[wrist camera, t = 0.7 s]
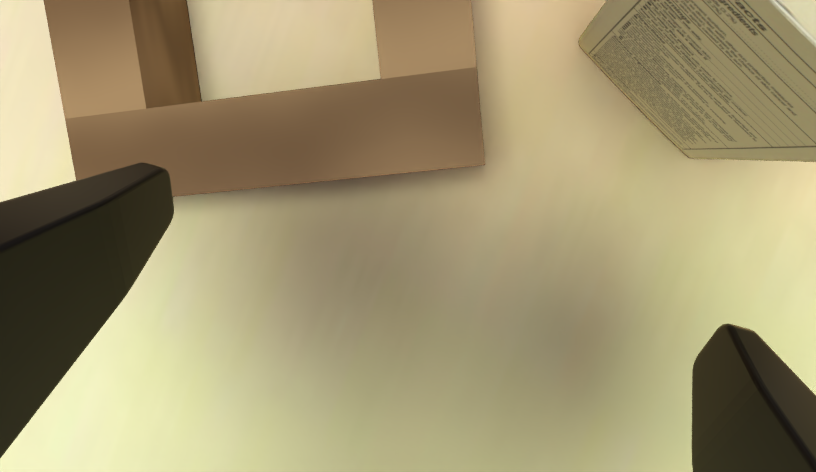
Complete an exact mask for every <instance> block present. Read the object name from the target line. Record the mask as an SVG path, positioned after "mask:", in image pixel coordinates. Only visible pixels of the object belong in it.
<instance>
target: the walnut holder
mask: <svg viewBox="0 0 816 472" xmlns="http://www.w3.org/2000/svg"><path fill="white" fill-rule="evenodd" d="M44 5H45V10H46V16H47V21H48V27H49V32H50V38H51V43H52V49H53V54H54V60H55V65H56V71H57V76H58V82H59V87H60V93H61V99H62V104H63V110H64V115H65V121H66V126H67V132H68V137H69V143H70V148H71V154H72V159H73V165H74V170H75V176H76V181H77V180H80V179H84V178H88V177H91V176H95V175H98V174H102V173H105V172H109V171H112V170H116V169H119V168H123V167H126V166H130V165H133V164H137V163H141V162H144V163H149V164H152V165H156V166H160V167H163V168H165V169H166V170H167V171H168V173H169V175H170V180H171V188H172V196H173V197H174V196H184V195H194V194H204V193H214V192H223V191H233V190H243V189H253V188H263V187H272V186H282V185H292V184H302V183H312V182H321V181H331V180H341V179H351V178H361V177H370V176H380V175H390V174H400V173H410V172H420V171H429V170H439V169H449V168H459V167H469V166H478V165H485V159H484V147H483V135H482V124H481V112H480V100H479V88H478V77H477V65H476V53H475V42H474V30H473V18H472V7H471V0H373V10H374V19H375V28H376V37H377V47H378V56H379V65H380V75H381V79H377V80H369V81H361V82H353V83H345V84H337V85H329V86H322V87H314V88H306V89H298V90H290V91H282V92H274V93H266V94H258V95H250V96H242V97H234V98H226V99H218V100H210V101H202V102H201V96H200V89H199V83H198V76H197V69H196V63H195V56H194V49H193V42H192V36H191V29H190V22H189V16H188V9H187V2H186V0H44Z"/></svg>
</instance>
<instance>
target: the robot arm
mask: <svg viewBox="0 0 816 472" xmlns="http://www.w3.org/2000/svg"><path fill="white" fill-rule="evenodd" d="M173 214H174V204H173V196H172V188H171V180H170V175H169V173H168V171H167V170H166V169H165V168H163V167H160V166H156V165H152V164H149V163H144V162H141V163H137V164H133V165H130V166H126V167H123V168H119V169H116V170H112V171H109V172H105V173H102V174H98V175H95V176H91V177H88V178H84V179H80V180H77V181H73V182H70V183H66V184H63V185H59V186H56V187H52V188H49V189H45V190H42V191H38V192H35V193H31V194H28V195H24V196H21V197H17V198H14V199H10V200H7V201H3V202H0V458H1V457H2V455H3V454H4V453H5V452H6V450H7V449H8V448H9V446H10V445H11V444H12V443H13V441H14V440H15V439H16V437H17V436H18V435H19V433H20V432H21V431H22V430H23V428H24V427H25V426H26V424H27V423H28V422H29V421H30V419H31V418H32V417H33V415H34V414H35V413H36V411H37V410H38V409H39V408H40V406H41V405H42V404H43V402H44V401H45V400H46V399H47V397H48V396H49V395H50V393H51V392H52V391H53V390H54V388H55V387H56V386H57V384H58V383H59V382H60V380H61V379H62V378H63V377H64V375H65V374H66V373H67V371H68V370H69V369H70V368H71V366H72V365H73V364H74V362H75V361H76V360H77V358H78V357H79V356H80V355H81V353H82V352H83V351H84V349H85V348H86V347H87V346H88V344H89V343H90V342H91V340H92V339H93V338H94V336H95V335H96V334H97V333H98V331H99V330H100V329H101V327H102V326H103V325H104V324H105V322H106V321H107V320H108V318H109V317H110V316H111V314H112V313H113V312H114V311H115V309H116V308H117V307H118V305H119V304H120V303H121V301H122V300H123V299H124V297H125V296H126V295H127V293H128V292H129V290H130V289H131V287H132V286H133V284H134V282H135V281H136V279H137V278H138V276H139V274H140V273H141V271H142V269H143V268H144V266H145V264H146V263H147V261H148V259H149V258H150V256H151V254H152V253H153V251H154V249H155V248H156V246H157V244H158V243H159V241H160V240H161V238H162V236H163V235H164V233H165V231H166V230H167V228H168V226H169V225H170V223H171V221H172V218H173ZM692 466H693V472H816V395H815V394H814V393H813V392H812V391H811V390H810V389H809V388H808V387H807V386H806V385H805V384H804V383H803V382H802V381H801V380H800V379H799V378H798V376H797V375H796V374H795V373H794V372H793V371H792V370H791V369H790V368H789V367H788V366H787V365H786V364H785V363H784V362H783V361H782V360H781V359H780V358H779V357H778V355H777V354H776V353H775V352H774V351H773V350H772V349H771V348H770V347H769V346H768V345H767V344H766V343H765V342H764V341H763V340H762V339H761V338H760V337H759V336H758V334H756V333H755V332H754V331H752V330H750V329H747V328H743V327H739V326H736V325H732V324H723V325H722V326H720V327H719V328H718V329H717V330H716V332H715V333H714V334H713V336H712V337H711V338H710V340H709V341H708V342H707V344H706V345H705V346H704V348H703V349H702V350H701V352H700V353H699V354H698V356H697V358H696V360H695V362H694V365H693V377H692Z"/></svg>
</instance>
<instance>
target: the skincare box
mask: <svg viewBox="0 0 816 472" xmlns="http://www.w3.org/2000/svg"><path fill="white" fill-rule="evenodd" d="M578 42H579V46H580V47H581V48H582V49H583V50H584V52H585V53H586V54H587V55H588V56H589V57H590V58H591V59H592V60H593V61H594V62H595V63H596V64H597V66H598V67H599V68H600V69H601V70H602V71H603V72H604V73H605V74H606V75H607V76H608V77H609V78H610V79H611V80H612V81H613V82H614V83H615V84H616V86H617V87H618V88H619V89H620V90H621V91H622V92H623V93H624V94H625V95H626V96H627V97H628V98H629V99H630V100H631V101H632V102H633V103H634V104H635V105H636V106H637V107H638V108H639V109H640V110H641V111H642V112H643V113H644V114H645V115H646V116H647V117H648V118H649V119H650V120H651V121H652V122H653V123H654V124H655V125H656V126H657V127H658V128H659V129H660V130H661V131H662V132H663V133H664V134H665V135H666V136H667V137H668V138H669V139H670V140H671V141H672V142H673V143H674V144H675V145H676V146H677V147H678V148H679V149H680V150H681V151H682V152H683V153H684V154H686V155H687V156H688V157H689V158H693V159H735V160H765V161H803V162H816V0H607V1H606V2H605V4H604V5H603V6H602V8H601V9H600V11H599V12H598V13H597V15H596V16H595V17H594V19H593V20H592V21H591V23H590V24H589V25H588V27H587V28H586V30H585V31H584V32H583V34H582V35H581V37H580V38H579V41H578Z"/></svg>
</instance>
